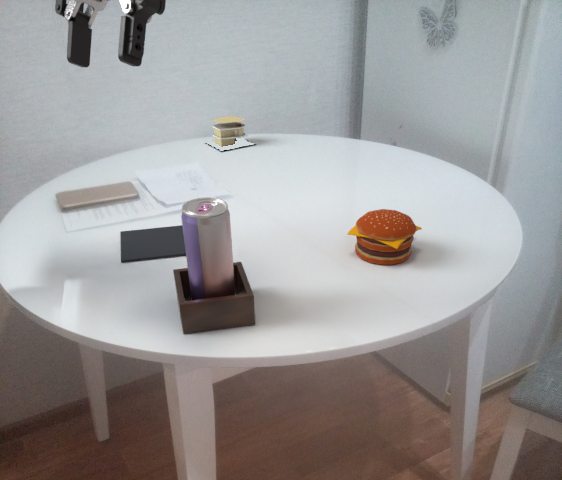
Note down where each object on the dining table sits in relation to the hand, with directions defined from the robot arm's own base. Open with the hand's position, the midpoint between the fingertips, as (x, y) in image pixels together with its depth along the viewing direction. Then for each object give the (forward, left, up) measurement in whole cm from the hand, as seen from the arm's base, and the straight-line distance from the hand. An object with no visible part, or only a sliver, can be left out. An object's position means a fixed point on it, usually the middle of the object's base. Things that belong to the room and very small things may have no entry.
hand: (102, 64), depth 55 cm
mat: (+2, +25, -31) cm, 40 cm away
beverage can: (+9, +2, -31) cm, 32 cm away
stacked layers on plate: (+23, +76, -31) cm, 85 cm away
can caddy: (+9, +2, -31) cm, 32 cm away
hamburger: (+38, +13, -31) cm, 51 cm away
